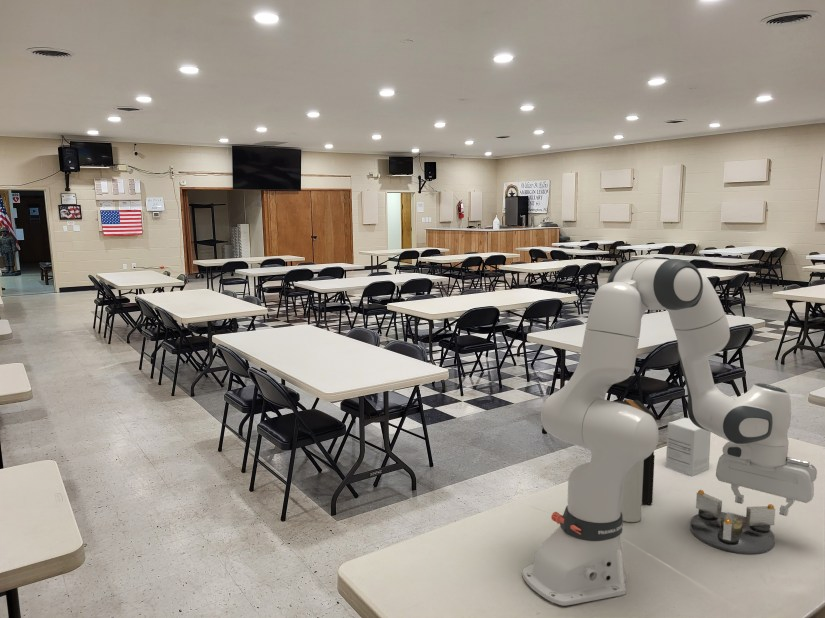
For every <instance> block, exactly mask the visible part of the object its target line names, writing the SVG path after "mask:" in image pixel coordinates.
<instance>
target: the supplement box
mask: <svg viewBox="0 0 825 618" xmlns="http://www.w3.org/2000/svg"><path fill="white" fill-rule="evenodd" d="M711 434H712V432H710V431H707V430H704V429H702V428H699V427H697V426H696V425H694V424H693V423H692V421H691V420H690V418H689V417H682V418H679V419H677V420H674V421H670V422H667V437H666V440H667V441H666V455H665V456H666V458H665V460H666V461H665V468H667V469H669V470H672V471H675V472H676V473H677V472H678V473H680V474H682V475H686V476H688V477H695V476H697V475H699V474H702V473H705V472H706V471H709V469H710V452H711Z"/></svg>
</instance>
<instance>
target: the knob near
mask: <svg viewBox="0 0 825 618" xmlns="http://www.w3.org/2000/svg"><path fill="white" fill-rule="evenodd" d="M726 513H727V515H726V518H725V521H724V528H723V530H719V531H718V539H719V540H720V541H722V542H724V543H728V544H737V543H738V542H739V535H738V534H737V533H735V532H733V531H734V522H735V514H736V513H734V512H733V513H732V512H729V511H728V512H726Z"/></svg>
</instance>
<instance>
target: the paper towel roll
mask: <svg viewBox="0 0 825 618" xmlns="http://www.w3.org/2000/svg"><path fill="white" fill-rule="evenodd" d="M643 465H644V460H642V461H640V462H638V463H636V464H635V465H634V466H633V467H632V468H631V469H630V470H629V471H628V473H627V475H626V477H625V480H624V483H623V490H622V500H621V513H622V515H623V522H628V523H637V522H639V521H641V519H642V509H643V507H642V504H643V503H642V487H643Z"/></svg>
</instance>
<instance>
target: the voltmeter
mask: <svg viewBox="0 0 825 618" xmlns="http://www.w3.org/2000/svg"><path fill="white" fill-rule="evenodd" d="M614 402H617V403H621V404H625V405H630V406H633V407H635V408H637V409H639V410H641V411H644V412H646V413H648V414H650V415H651V416H652V417H653V418H654V420H655V421H656V422H657V416H656V414H655V413H653V412H652V410H650V409H649V408H647V407H646V406H645V405H644V404H643V403H642V402H641V401H640V400H638V399H635V400H632V399H623V400H616V401H614ZM654 472H655V450H654V451H653V453H652V454H651V455H650V456H649V457H647V458H646V459H644V465H643V487H642V504H647V505H649V506H651V505H652V504H653V496H654V477H655V475H654V474H655V473H654Z"/></svg>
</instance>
